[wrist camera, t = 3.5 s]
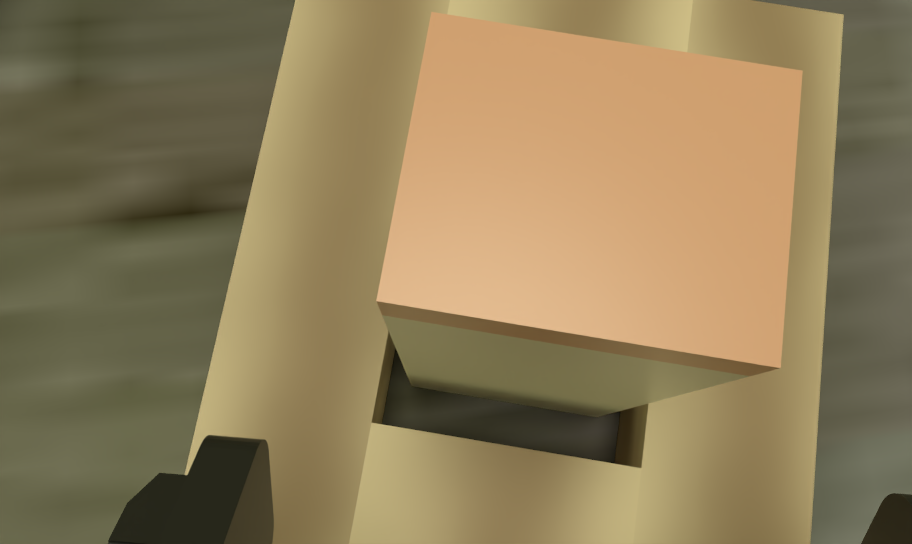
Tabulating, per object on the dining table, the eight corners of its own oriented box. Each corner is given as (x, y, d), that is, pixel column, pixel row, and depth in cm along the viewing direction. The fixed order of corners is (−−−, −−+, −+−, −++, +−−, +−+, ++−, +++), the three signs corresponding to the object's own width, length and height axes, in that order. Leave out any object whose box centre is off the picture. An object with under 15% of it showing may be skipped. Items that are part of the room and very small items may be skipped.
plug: (411, 386, 22) (376, 300, 10) (436, 243, 23) (431, 12, 11) (596, 417, 22) (780, 368, 10) (614, 272, 22) (802, 71, 11)
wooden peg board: (183, 635, 20) (140, 665, 17) (327, -5, 24) (311, -69, 21) (743, 733, 20) (795, 780, 17) (794, 68, 24) (843, 14, 21)
